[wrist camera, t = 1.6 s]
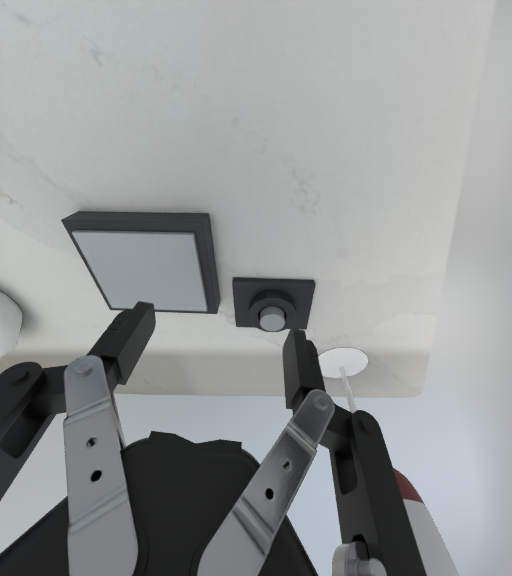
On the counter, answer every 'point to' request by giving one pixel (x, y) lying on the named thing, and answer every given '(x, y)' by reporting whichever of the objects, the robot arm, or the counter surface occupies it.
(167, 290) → the scale
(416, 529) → the wineglass
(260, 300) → the block
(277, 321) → the button
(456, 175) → the counter surface
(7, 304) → the cup
